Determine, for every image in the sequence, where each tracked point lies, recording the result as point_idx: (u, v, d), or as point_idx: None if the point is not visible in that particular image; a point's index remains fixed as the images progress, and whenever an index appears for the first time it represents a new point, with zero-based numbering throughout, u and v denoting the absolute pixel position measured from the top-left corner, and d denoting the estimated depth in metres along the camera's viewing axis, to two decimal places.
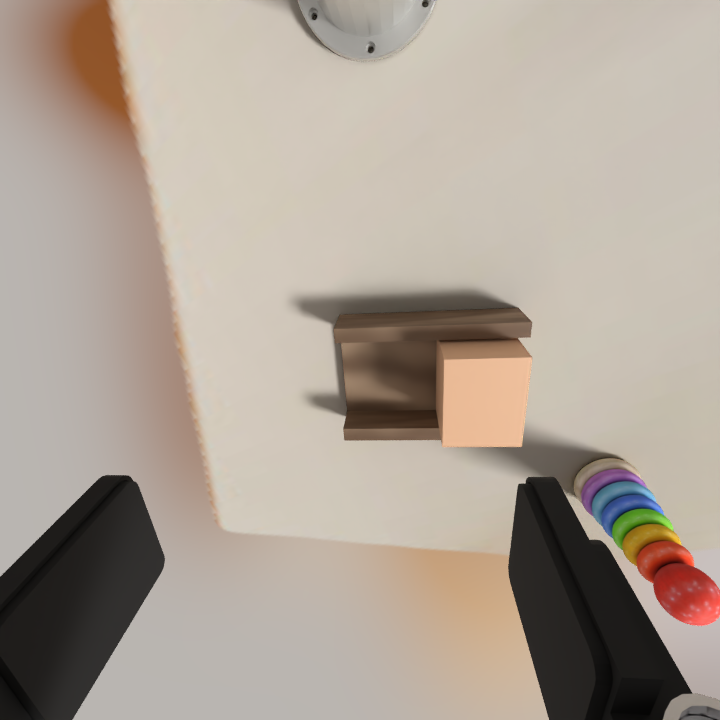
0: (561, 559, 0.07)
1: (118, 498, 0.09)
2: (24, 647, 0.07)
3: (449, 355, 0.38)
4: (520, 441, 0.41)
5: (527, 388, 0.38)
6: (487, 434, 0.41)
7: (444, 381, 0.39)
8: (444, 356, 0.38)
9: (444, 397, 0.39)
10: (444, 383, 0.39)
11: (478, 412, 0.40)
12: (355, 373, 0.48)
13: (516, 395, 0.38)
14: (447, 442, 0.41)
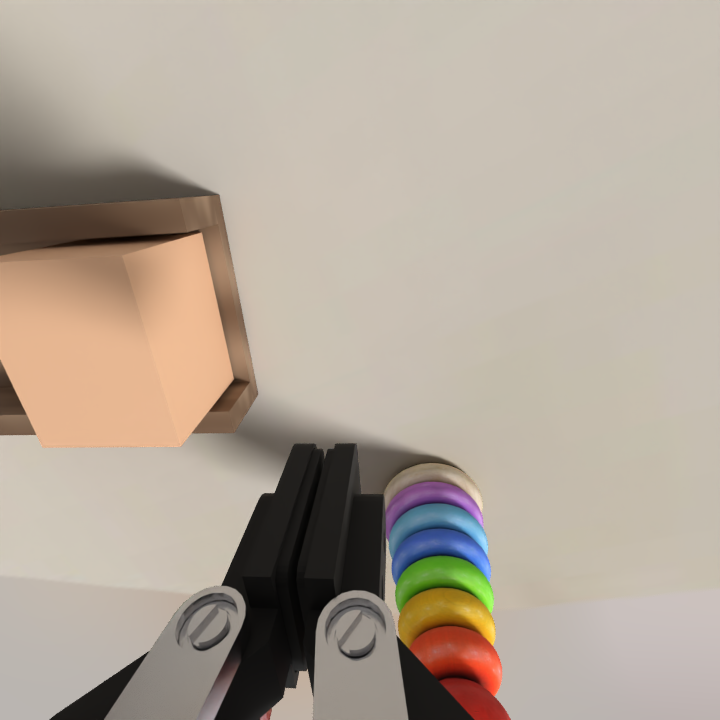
0: (319, 502, 0.08)
1: None
2: (295, 588, 0.07)
3: None
4: (174, 436, 0.21)
5: (141, 327, 0.18)
6: (109, 423, 0.21)
7: None
8: None
9: None
10: None
11: (73, 379, 0.20)
12: None
13: (128, 343, 0.19)
14: (47, 438, 0.22)
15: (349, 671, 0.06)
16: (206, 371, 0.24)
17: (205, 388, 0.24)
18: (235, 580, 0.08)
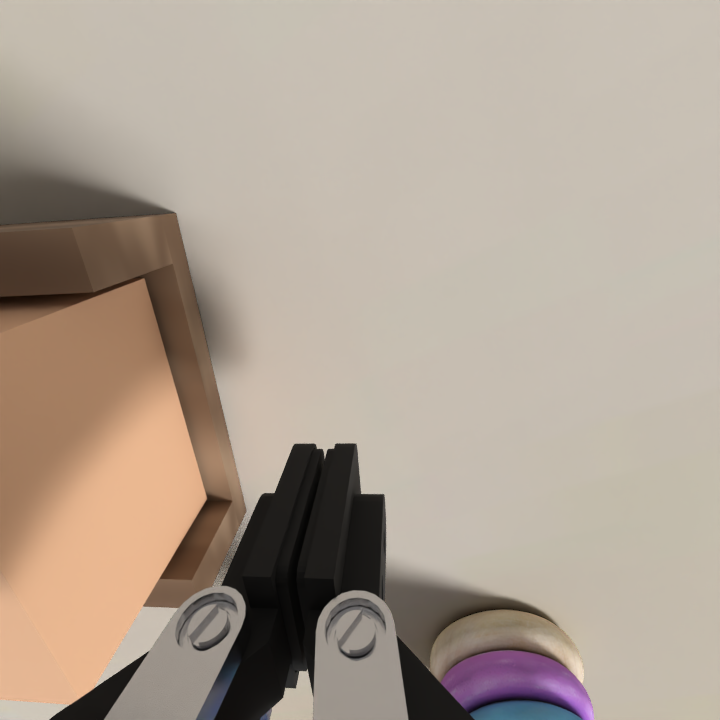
0: (319, 502, 0.08)
1: None
2: (294, 588, 0.07)
3: None
4: (68, 691, 0.11)
5: None
6: None
7: None
8: None
9: None
10: None
11: None
12: None
13: None
14: None
15: (349, 671, 0.06)
16: (151, 517, 0.14)
17: (148, 549, 0.14)
18: (235, 580, 0.08)
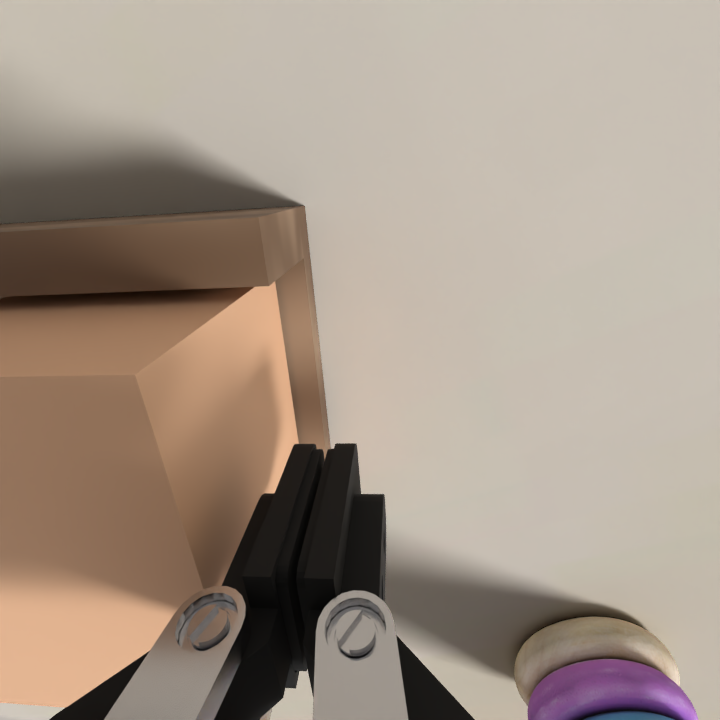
0: (319, 502, 0.08)
1: None
2: (295, 588, 0.07)
3: None
4: None
5: (178, 527, 0.08)
6: (99, 677, 0.10)
7: None
8: None
9: None
10: None
11: (22, 607, 0.09)
12: None
13: (145, 555, 0.08)
14: None
15: (349, 671, 0.06)
16: None
17: None
18: (235, 580, 0.08)
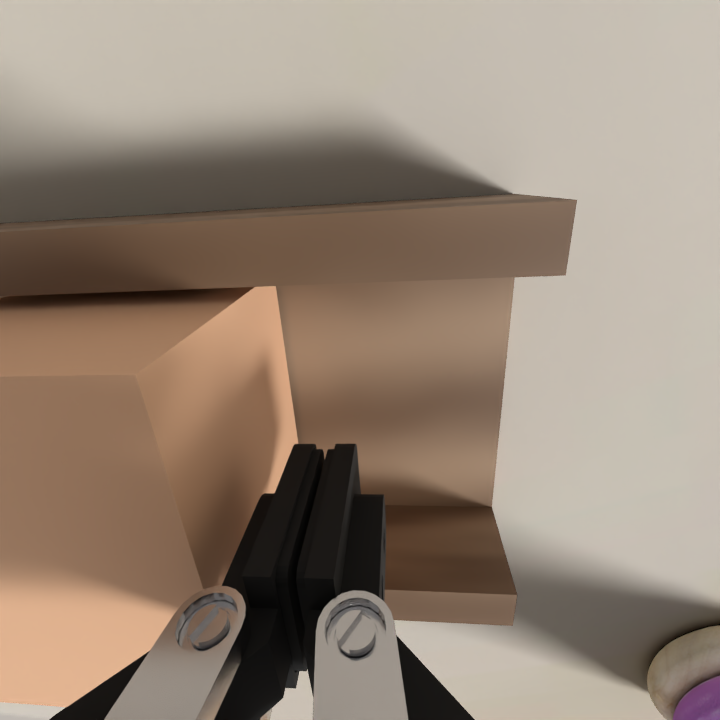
0: (319, 502, 0.08)
1: None
2: (295, 588, 0.07)
3: None
4: None
5: (178, 526, 0.08)
6: (98, 677, 0.10)
7: None
8: None
9: None
10: None
11: (22, 606, 0.09)
12: None
13: (145, 554, 0.08)
14: None
15: (349, 671, 0.06)
16: None
17: None
18: (235, 580, 0.08)
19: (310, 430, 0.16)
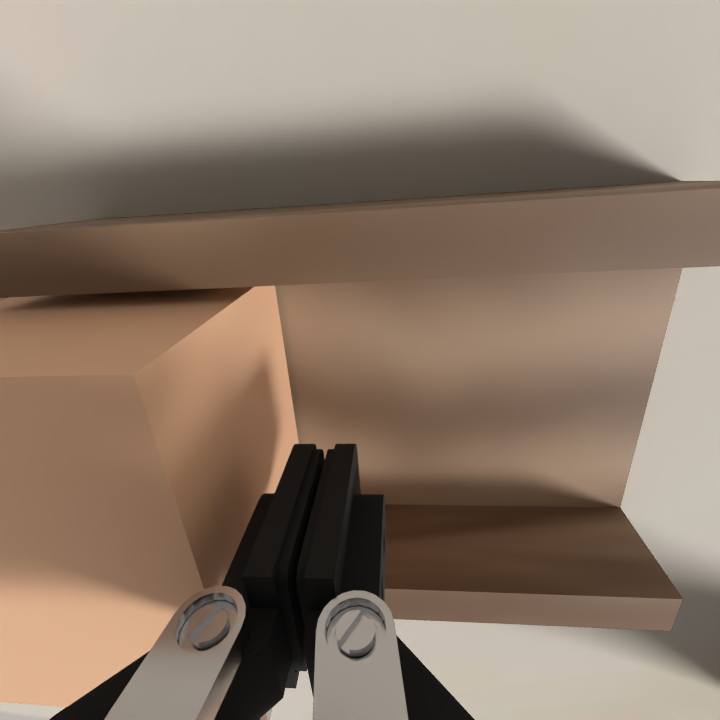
0: (319, 502, 0.08)
1: None
2: (295, 588, 0.07)
3: None
4: None
5: (178, 526, 0.08)
6: (100, 677, 0.10)
7: None
8: None
9: None
10: None
11: (23, 607, 0.09)
12: None
13: (145, 554, 0.08)
14: None
15: (349, 671, 0.06)
16: None
17: None
18: (235, 580, 0.08)
19: (438, 429, 0.16)
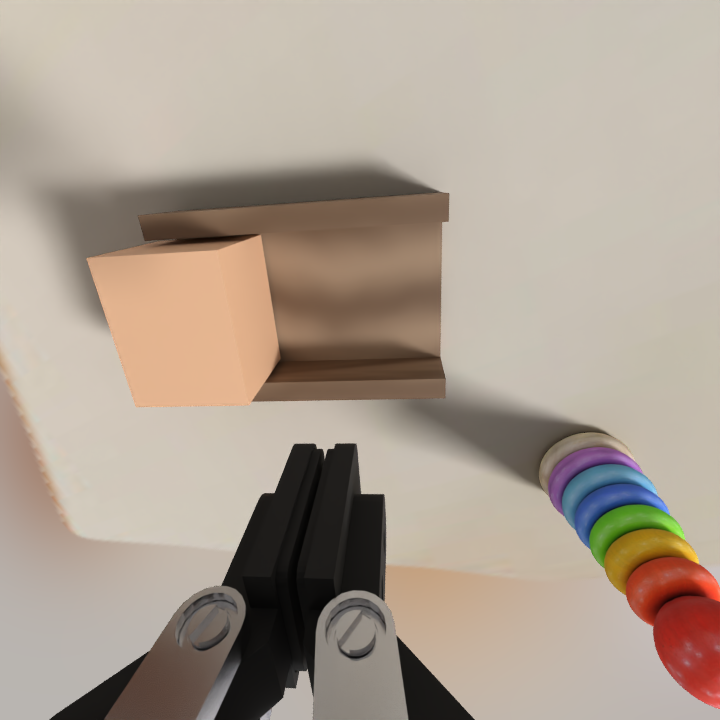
0: (319, 502, 0.08)
1: None
2: (295, 588, 0.07)
3: (106, 254, 0.24)
4: (244, 396, 0.26)
5: (226, 306, 0.24)
6: (192, 386, 0.26)
7: (101, 297, 0.24)
8: None
9: (109, 324, 0.25)
10: (102, 300, 0.24)
11: (167, 349, 0.25)
12: None
13: (215, 319, 0.24)
14: (140, 399, 0.27)
15: (349, 671, 0.06)
16: (263, 348, 0.29)
17: (263, 362, 0.29)
18: (235, 580, 0.08)
19: (345, 314, 0.32)
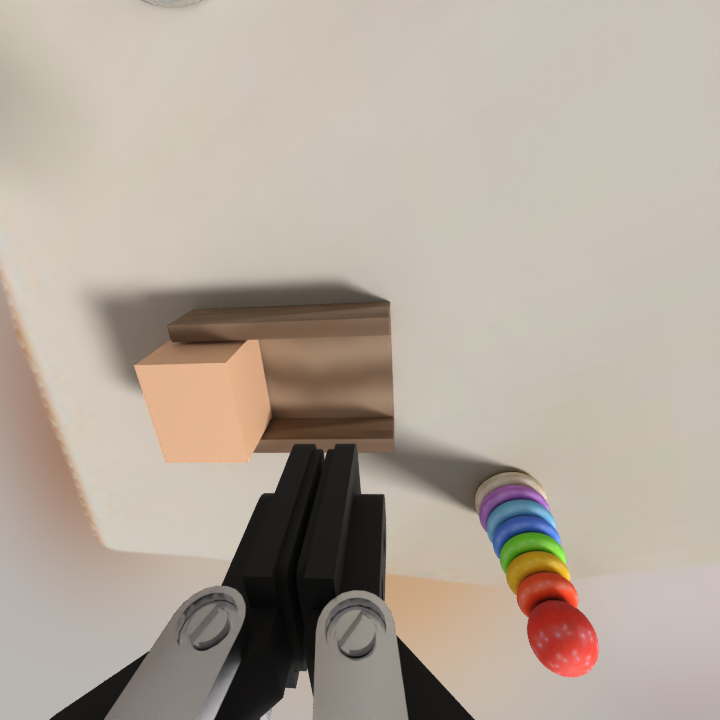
0: (319, 502, 0.08)
1: None
2: (294, 588, 0.07)
3: (146, 360, 0.34)
4: (244, 456, 0.36)
5: (232, 397, 0.34)
6: (207, 448, 0.36)
7: (143, 389, 0.34)
8: (140, 361, 0.34)
9: (148, 407, 0.35)
10: (143, 392, 0.34)
11: (189, 424, 0.35)
12: None
13: (224, 406, 0.34)
14: (168, 457, 0.37)
15: (349, 671, 0.06)
16: (258, 415, 0.39)
17: (258, 425, 0.39)
18: (235, 580, 0.08)
19: (321, 386, 0.42)
